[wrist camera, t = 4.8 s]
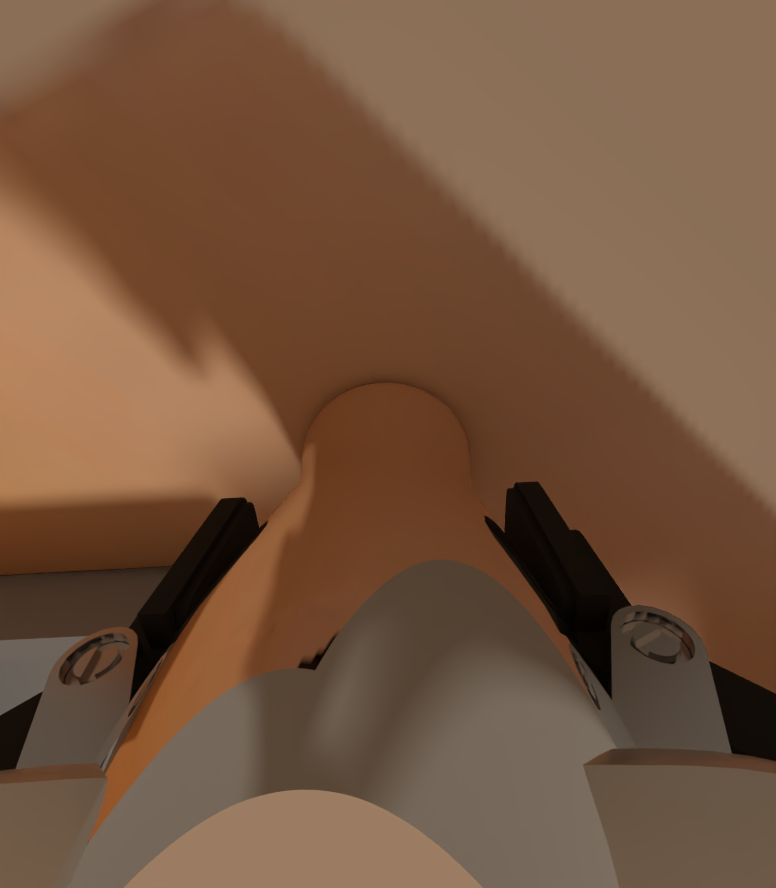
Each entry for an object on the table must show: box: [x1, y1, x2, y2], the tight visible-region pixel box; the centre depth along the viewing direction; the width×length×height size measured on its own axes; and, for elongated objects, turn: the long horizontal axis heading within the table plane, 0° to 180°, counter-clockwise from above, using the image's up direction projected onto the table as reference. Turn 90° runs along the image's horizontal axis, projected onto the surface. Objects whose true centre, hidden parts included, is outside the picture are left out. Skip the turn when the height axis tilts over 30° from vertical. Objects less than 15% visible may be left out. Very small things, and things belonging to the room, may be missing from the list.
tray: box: [0, 566, 172, 715], centre depth 20 cm, size 18×18×4 cm
